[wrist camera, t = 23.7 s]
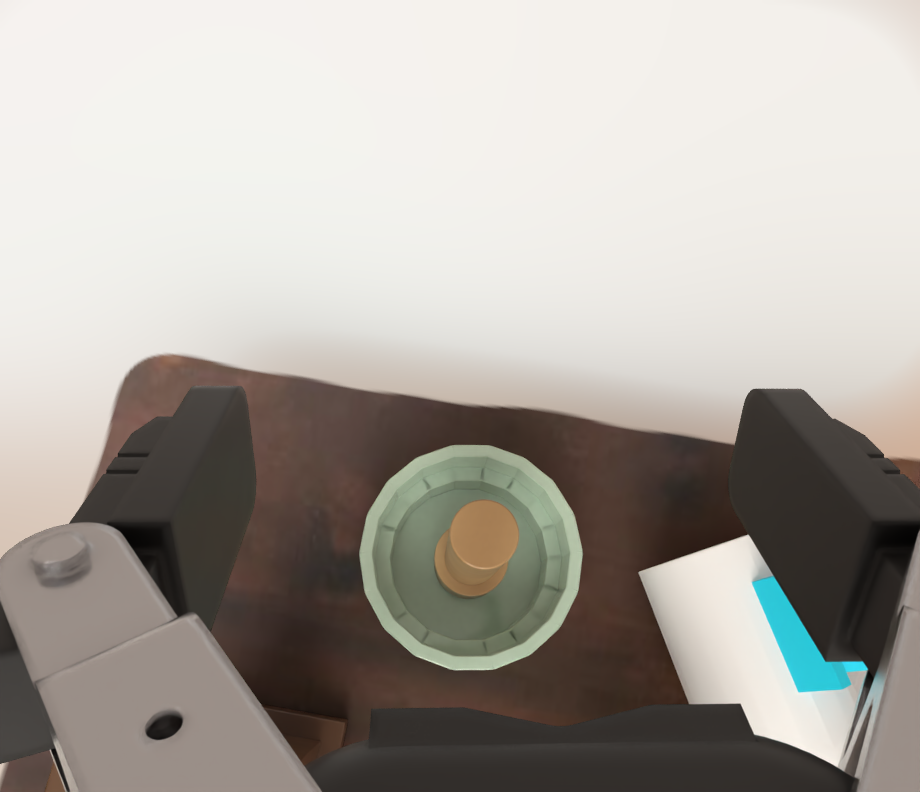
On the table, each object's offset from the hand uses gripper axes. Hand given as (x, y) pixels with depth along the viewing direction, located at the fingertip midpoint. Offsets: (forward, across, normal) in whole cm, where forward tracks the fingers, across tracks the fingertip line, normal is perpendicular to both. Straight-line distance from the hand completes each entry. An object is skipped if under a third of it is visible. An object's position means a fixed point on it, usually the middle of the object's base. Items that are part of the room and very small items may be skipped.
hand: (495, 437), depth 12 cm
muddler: (+20, -1, +20) cm, 28 cm away
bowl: (+21, -1, +20) cm, 29 cm away
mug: (+18, -16, +24) cm, 34 cm away
